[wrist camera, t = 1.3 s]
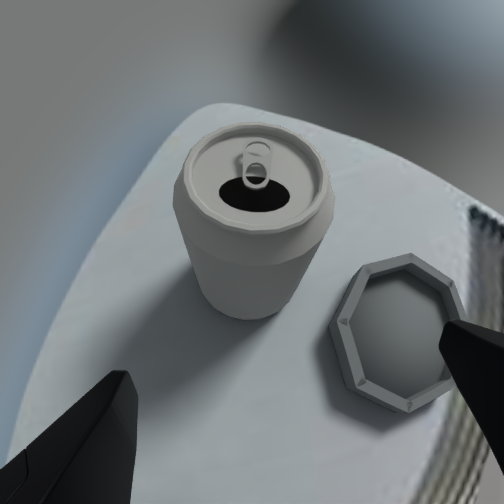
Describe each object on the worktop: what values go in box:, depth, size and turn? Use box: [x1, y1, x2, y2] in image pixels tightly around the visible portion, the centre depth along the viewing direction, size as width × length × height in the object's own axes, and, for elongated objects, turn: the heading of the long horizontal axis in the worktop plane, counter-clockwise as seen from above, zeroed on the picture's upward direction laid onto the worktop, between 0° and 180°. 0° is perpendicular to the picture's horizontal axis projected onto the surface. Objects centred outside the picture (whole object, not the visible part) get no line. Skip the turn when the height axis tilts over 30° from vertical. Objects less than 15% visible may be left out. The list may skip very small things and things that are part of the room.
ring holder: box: [329, 253, 468, 413], centre depth 20 cm, size 12×12×2 cm
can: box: [173, 122, 335, 320], centre depth 17 cm, size 8×8×12 cm
